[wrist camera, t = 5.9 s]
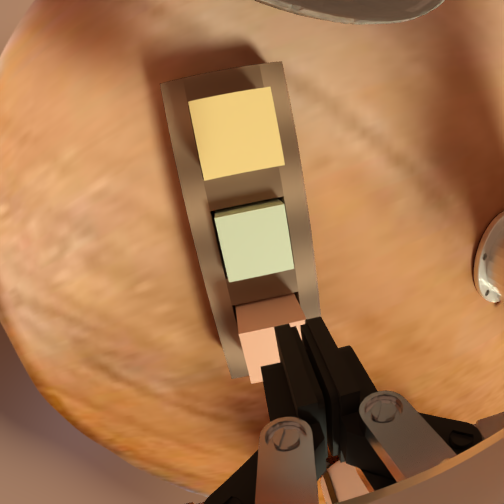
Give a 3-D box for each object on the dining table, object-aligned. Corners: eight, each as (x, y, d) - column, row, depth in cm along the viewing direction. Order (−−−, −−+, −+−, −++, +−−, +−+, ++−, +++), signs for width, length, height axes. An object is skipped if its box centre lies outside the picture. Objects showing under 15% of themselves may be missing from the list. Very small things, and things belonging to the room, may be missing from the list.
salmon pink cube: (299, 336, 29) (312, 369, 25) (246, 348, 29) (251, 383, 25) (292, 290, 28) (306, 319, 23) (235, 302, 28) (238, 334, 23)
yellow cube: (272, 161, 24) (284, 165, 19) (207, 173, 24) (204, 180, 19) (260, 98, 22) (270, 86, 18) (194, 110, 22) (188, 101, 18)
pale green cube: (282, 248, 29) (294, 268, 24) (227, 259, 29) (229, 282, 24) (272, 193, 28) (284, 204, 23) (215, 205, 27) (214, 218, 23)
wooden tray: (314, 336, 33) (324, 358, 29) (230, 354, 33) (231, 378, 29) (273, 72, 25) (281, 61, 21) (168, 92, 24) (160, 83, 20)
